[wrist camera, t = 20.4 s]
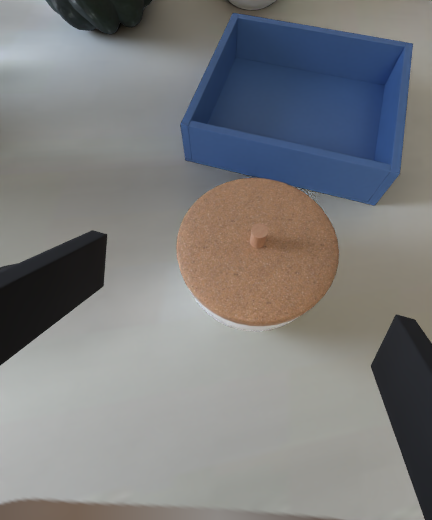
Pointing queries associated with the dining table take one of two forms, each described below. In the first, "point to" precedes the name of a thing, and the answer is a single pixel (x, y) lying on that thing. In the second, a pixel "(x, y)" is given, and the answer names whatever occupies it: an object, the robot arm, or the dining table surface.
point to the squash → (100, 13)
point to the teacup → (251, 4)
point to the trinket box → (257, 253)
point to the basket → (302, 107)
